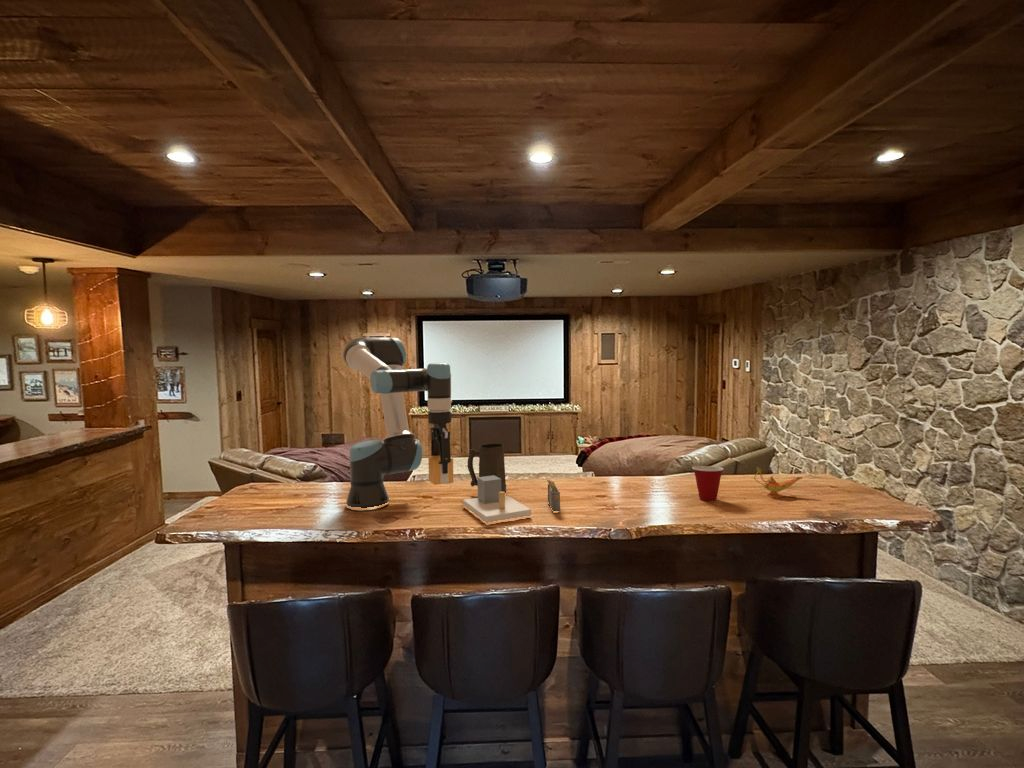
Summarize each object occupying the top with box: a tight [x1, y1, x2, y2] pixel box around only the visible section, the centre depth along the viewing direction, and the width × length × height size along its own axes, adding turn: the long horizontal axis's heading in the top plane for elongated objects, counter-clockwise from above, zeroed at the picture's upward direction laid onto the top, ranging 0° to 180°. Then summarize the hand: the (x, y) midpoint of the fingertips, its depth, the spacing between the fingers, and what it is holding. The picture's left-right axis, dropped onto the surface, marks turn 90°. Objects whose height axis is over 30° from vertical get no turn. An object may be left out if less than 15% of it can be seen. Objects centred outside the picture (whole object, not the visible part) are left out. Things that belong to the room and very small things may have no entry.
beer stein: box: [467, 443, 507, 493], centre depth 200 cm, size 15×11×20 cm
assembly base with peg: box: [462, 475, 532, 523], centre depth 177 cm, size 22×16×11 cm
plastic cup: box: [691, 465, 724, 502], centre depth 188 cm, size 11×11×12 cm
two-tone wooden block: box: [428, 455, 454, 486], centre depth 168 cm, size 6×6×8 cm
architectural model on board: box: [546, 478, 561, 512], centre depth 181 cm, size 11×3×10 cm, turn 4°
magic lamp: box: [753, 466, 803, 499], centre depth 191 cm, size 7×18×11 cm, turn 89°
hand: (441, 480), depth 168 cm, fingers closed on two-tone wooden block, 6 cm apart
